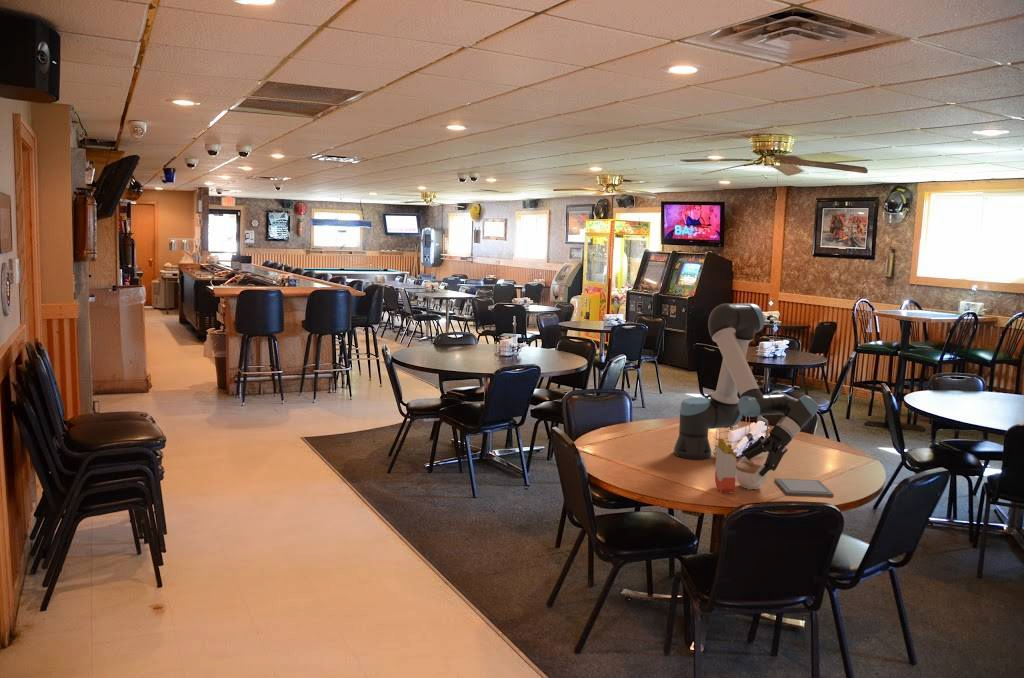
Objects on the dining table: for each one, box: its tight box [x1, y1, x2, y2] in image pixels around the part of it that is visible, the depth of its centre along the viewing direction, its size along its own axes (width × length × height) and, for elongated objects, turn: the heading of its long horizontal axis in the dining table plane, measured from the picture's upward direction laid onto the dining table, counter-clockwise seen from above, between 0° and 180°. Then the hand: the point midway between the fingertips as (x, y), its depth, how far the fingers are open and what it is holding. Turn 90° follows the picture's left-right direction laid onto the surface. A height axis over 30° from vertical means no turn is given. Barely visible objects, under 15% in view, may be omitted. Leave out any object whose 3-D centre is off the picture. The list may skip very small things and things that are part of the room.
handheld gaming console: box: [756, 415, 769, 438], centre depth 349 cm, size 13×9×10 cm
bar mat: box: [774, 477, 834, 498], centre depth 278 cm, size 16×16×1 cm
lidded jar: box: [735, 461, 767, 490], centre depth 278 cm, size 11×11×9 cm
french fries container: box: [714, 437, 738, 493], centre depth 273 cm, size 5×11×18 cm, turn 0°
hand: (743, 476), depth 277 cm, fingers closed on lidded jar, 11 cm apart
